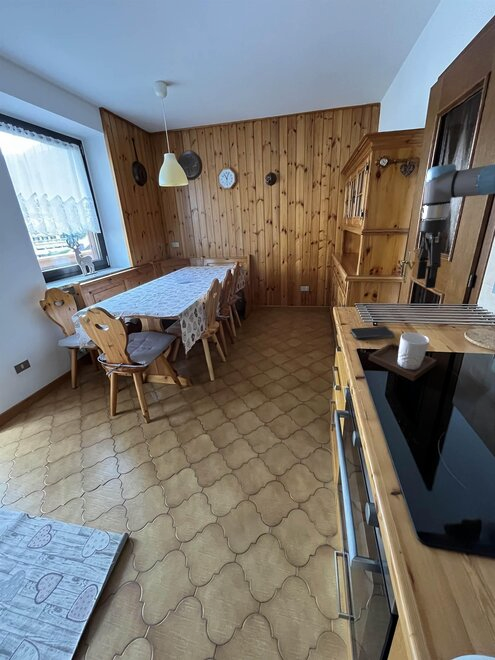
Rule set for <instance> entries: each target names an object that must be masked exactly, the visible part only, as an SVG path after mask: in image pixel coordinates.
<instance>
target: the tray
mask: <svg viewBox="0 0 495 660" xmlns="http://www.w3.org/2000/svg"><path fill="white" fill-rule="evenodd" d="M399 345H400V344H398V343H395V342H389V343H388V344H386V345H384V346H383V347H381V348H379V349H378V350H377V349H376V351H374V352H372V353H370V354H369V355H368V361H370V362H372V363H374V364H377V365H379V366H381V367H383V368H385V369H386V370H389V371H391V372H392V373H395V374H397V375H399V376H402V377H404V378H405V379H408V380H409V381H412V382H415V381H416V380H418V379H419V378H420V377H422V376H423V375H424V374H426V373H427V372H429V370H432V368H434V367H435V366H436V365H437V359H435V358H432V357H430V356H427V355H426V354H425V355H424V358H423V361H422V363H421V366H420V368H419V369H416V370H410V369H405V368H403V367H401V366H400V365H399V364H398V362H397V361H398V352H399Z"/></svg>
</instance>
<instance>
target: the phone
mask: <svg viewBox="0 0 495 660" xmlns="http://www.w3.org/2000/svg"><path fill="white" fill-rule="evenodd" d="M350 334H351V335H352V336H353V337H354V339H355V340H358V341H365V340H377V339H378V340H380V339H392V338H394V337H395V333H394V332H393V331H392V330H390V328H388V327H387V326H385V325H384V326H372V327H371V326H370V327H355V328H351V329H350Z"/></svg>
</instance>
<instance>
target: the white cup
mask: <svg viewBox="0 0 495 660" xmlns="http://www.w3.org/2000/svg"><path fill="white" fill-rule="evenodd" d="M429 343H430V338H429V337H427V336H426V335H424V334H422V333H420V332H419V333H418V332H411V331H409V332H408V331H407V332H403V333H401V335H400V340H399V344H398V345H399V352H398V361H397V362H398V364H399V365H400V366H401V367H403V368H405V369H410V370H416V369H419V368H420V366H421V363H422V361H423V358H424V355H425V356H426V352H427V349H428V346H429Z"/></svg>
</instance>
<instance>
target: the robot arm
mask: <svg viewBox="0 0 495 660" xmlns="http://www.w3.org/2000/svg"><path fill="white" fill-rule="evenodd" d="M489 195H495V164H494V163H493V164H487V165H483V166H482V165H481V166H477V167H472V168H471V167H470V168H466V169H457V165H456V164H454V163H449V164H442V165H437V166H433V167H430V168H429V169H428V170H427V173H426V178H425V182H424V191H423V201H422V209H420V210H419V213H420V214H421V217H420V219H421V221H420V223H419V233H421V234H422V239H421V243H420V246H419V250H418V254H417V259H418V264H417V272H416V280H425V283H424V288H425V289H435V288H436V283H437V277H438V270H439V268H441V266H442V264H441V263H442V239H443V236H442V235H439V233H444V232H446V231H447V226H448V219H447V218H449V216H450V209H451V200H452V199H456V198H457V199H458V198H465V197H478V196H489Z"/></svg>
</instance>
